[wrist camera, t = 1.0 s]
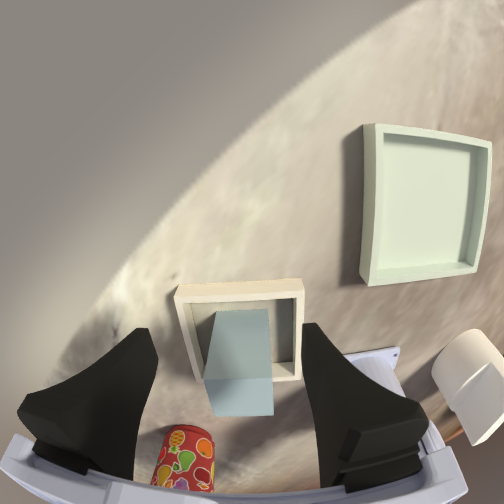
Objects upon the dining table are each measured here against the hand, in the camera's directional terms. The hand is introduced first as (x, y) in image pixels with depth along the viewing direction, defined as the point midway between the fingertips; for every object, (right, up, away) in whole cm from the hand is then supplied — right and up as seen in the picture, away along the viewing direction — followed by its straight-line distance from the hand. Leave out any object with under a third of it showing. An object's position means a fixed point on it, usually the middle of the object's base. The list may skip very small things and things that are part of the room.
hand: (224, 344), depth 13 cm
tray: (+16, +8, +8) cm, 19 cm away
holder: (+1, -3, +12) cm, 13 cm away
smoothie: (-7, -21, +20) cm, 30 cm away
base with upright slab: (+28, -9, +15) cm, 33 cm away
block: (+1, -3, +12) cm, 13 cm away
